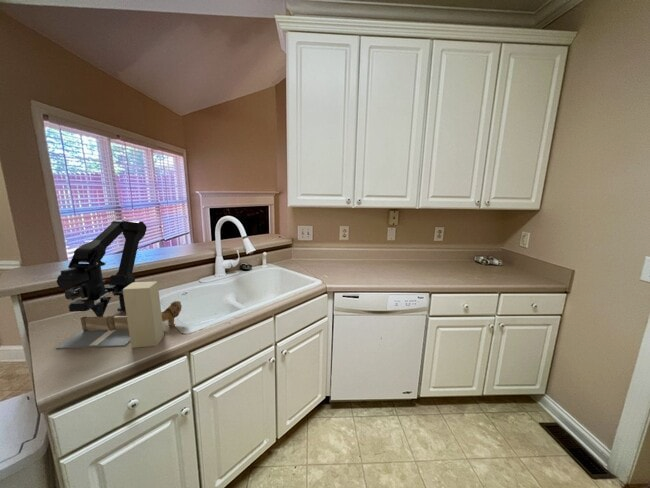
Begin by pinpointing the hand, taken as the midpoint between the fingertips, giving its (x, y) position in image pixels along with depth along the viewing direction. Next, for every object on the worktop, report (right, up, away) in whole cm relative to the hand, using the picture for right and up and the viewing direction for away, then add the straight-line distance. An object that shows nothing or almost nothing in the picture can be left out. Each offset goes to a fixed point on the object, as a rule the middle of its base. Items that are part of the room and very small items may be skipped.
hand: (100, 317), depth 105 cm
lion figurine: (+26, -3, -1) cm, 26 cm away
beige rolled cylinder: (+3, -3, -5) cm, 6 cm away
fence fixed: (+13, -3, -4) cm, 14 cm away
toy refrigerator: (+26, -5, -11) cm, 29 cm away
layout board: (+8, -4, -6) cm, 11 cm away
